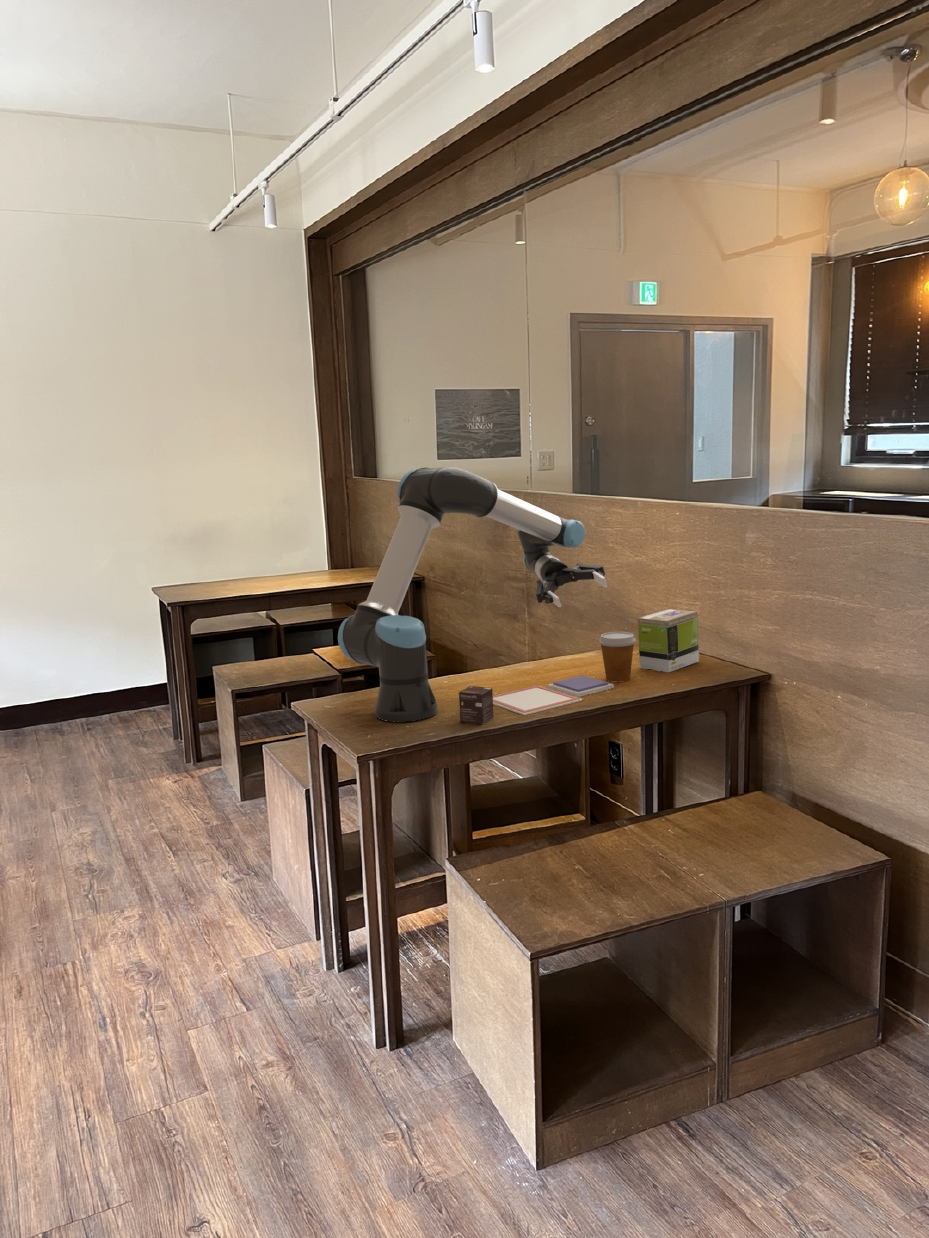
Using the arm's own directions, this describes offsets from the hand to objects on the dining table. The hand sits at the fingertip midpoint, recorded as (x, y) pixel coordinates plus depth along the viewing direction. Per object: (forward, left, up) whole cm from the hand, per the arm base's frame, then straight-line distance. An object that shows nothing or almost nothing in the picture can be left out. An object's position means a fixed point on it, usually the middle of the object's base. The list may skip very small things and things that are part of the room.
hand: (582, 592), depth 231 cm
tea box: (+27, -4, -24) cm, 36 cm away
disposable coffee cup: (+7, -5, -24) cm, 26 cm away
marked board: (-22, -5, -24) cm, 33 cm away
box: (-41, -9, -24) cm, 48 cm away
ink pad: (-6, -5, -24) cm, 25 cm away
